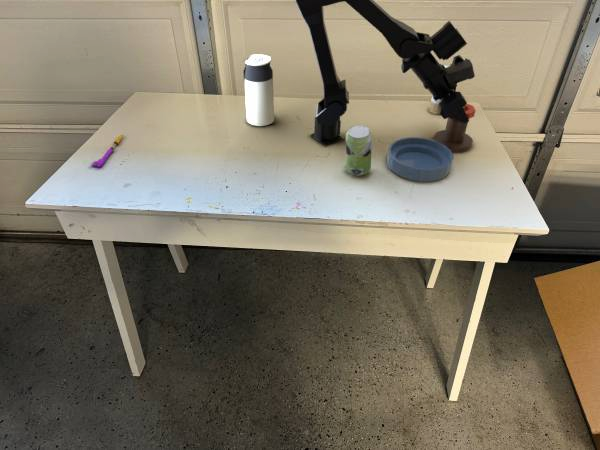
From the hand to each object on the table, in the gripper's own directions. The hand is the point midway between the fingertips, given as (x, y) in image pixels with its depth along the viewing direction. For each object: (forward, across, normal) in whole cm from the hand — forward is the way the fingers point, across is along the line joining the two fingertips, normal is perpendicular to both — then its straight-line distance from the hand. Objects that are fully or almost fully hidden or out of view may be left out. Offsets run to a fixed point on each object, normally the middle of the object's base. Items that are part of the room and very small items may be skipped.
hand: (464, 115), depth 116 cm
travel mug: (-33, +9, +45) cm, 56 cm away
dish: (-3, -12, +14) cm, 19 cm away
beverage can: (-14, -17, +26) cm, 33 cm away
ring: (-1, 0, +1) cm, 2 cm away
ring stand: (+5, 0, +7) cm, 8 cm away
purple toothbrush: (-59, -12, +71) cm, 93 cm away
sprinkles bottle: (+4, +19, +8) cm, 21 cm away
